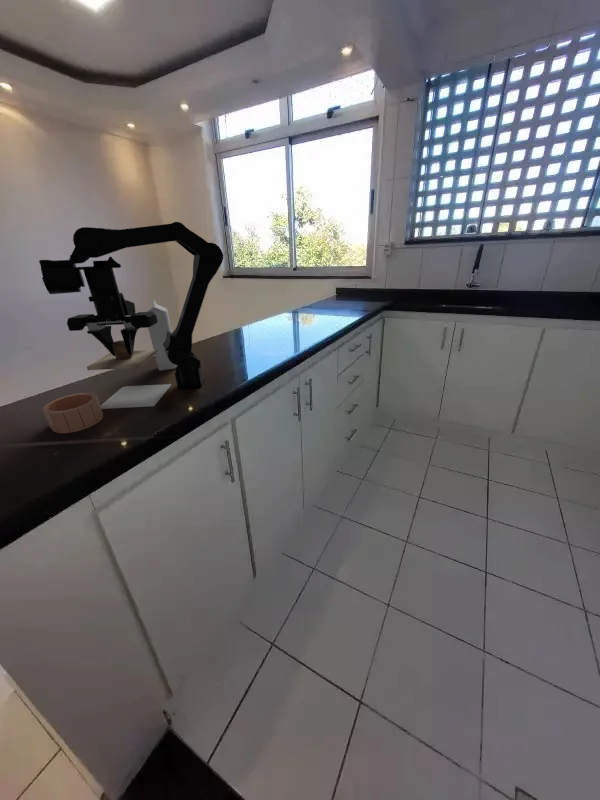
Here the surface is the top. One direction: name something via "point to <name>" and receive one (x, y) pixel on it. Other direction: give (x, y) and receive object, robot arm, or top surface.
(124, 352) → the cover
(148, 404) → the mat
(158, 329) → the milk
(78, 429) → the bowl
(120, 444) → the top surface
